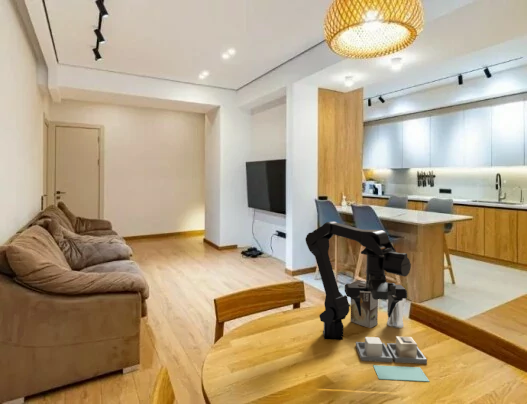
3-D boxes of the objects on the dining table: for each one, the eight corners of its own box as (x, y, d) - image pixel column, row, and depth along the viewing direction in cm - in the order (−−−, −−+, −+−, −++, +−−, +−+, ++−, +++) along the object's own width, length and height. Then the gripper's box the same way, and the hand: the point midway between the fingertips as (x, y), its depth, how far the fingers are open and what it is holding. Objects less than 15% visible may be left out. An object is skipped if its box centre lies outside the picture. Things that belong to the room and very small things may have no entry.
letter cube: (400, 358, 109) (400, 343, 108) (395, 350, 114) (396, 335, 113) (416, 359, 108) (417, 343, 108) (410, 351, 113) (411, 336, 113)
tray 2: (395, 363, 107) (395, 357, 107) (386, 348, 116) (386, 343, 116) (426, 364, 106) (427, 359, 106) (415, 349, 116) (415, 344, 115)
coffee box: (378, 324, 135) (379, 284, 134) (369, 329, 131) (371, 288, 130) (358, 317, 142) (358, 279, 141) (349, 321, 138) (350, 282, 137)
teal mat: (379, 380, 98) (379, 378, 98) (373, 367, 105) (373, 365, 105) (429, 383, 97) (429, 381, 97) (420, 369, 104) (420, 367, 103)
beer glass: (406, 329, 131) (407, 291, 130) (387, 327, 132) (388, 290, 131) (402, 322, 137) (404, 285, 136) (384, 320, 139) (385, 284, 138)
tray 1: (361, 361, 108) (361, 356, 107) (355, 346, 117) (355, 341, 117) (392, 363, 107) (392, 357, 107) (384, 348, 116) (384, 343, 116)
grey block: (367, 356, 110) (368, 343, 110) (364, 349, 114) (365, 336, 114) (382, 357, 109) (382, 344, 109) (378, 350, 114) (378, 337, 114)
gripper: (350, 275, 103) (349, 326, 104) (414, 277, 101) (412, 328, 102) (344, 266, 114) (343, 311, 115) (402, 267, 112) (400, 313, 113)
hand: (374, 316), depth 111 cm, fingers open, 9 cm apart
